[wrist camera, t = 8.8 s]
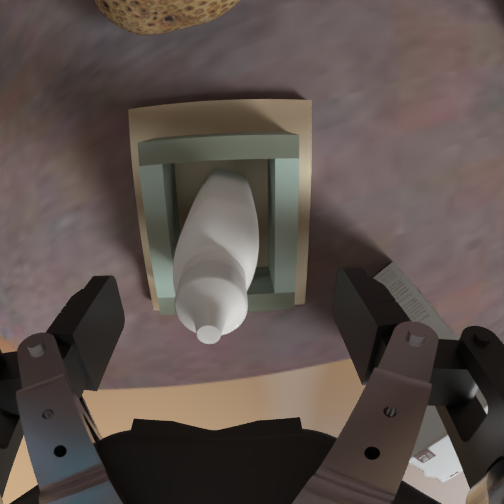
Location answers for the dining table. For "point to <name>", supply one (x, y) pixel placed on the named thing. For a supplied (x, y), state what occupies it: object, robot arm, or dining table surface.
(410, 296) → the skincare box
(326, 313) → the dining table surface
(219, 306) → the eye dropper bottle
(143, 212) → the frame
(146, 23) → the natural sponge
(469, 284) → the dining table surface
